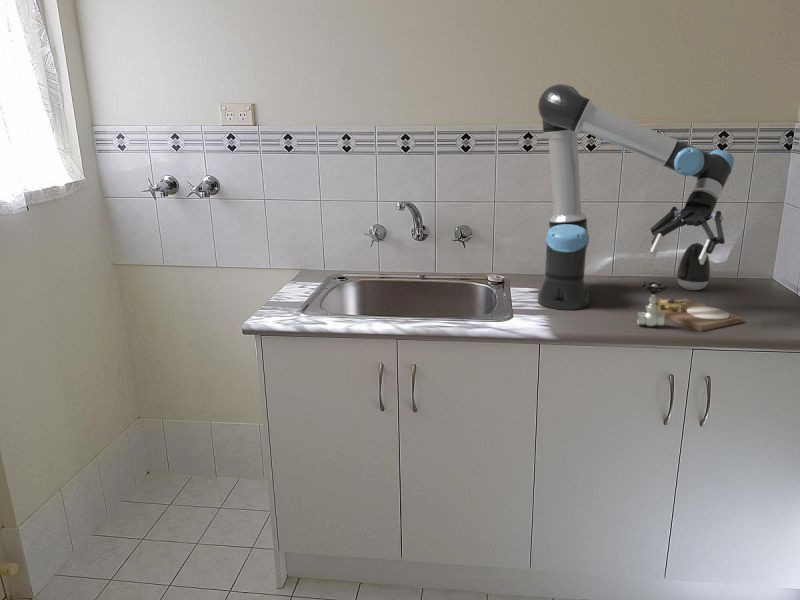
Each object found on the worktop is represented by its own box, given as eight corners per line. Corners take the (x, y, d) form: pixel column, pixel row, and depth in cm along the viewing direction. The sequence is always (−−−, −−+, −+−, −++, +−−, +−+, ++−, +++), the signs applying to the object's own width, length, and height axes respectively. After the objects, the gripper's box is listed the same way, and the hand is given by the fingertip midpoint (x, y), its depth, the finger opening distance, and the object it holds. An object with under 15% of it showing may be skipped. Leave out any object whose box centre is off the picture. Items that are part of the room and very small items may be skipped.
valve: (664, 330, 173) (669, 288, 170) (639, 329, 174) (643, 287, 171) (660, 322, 179) (665, 281, 176) (635, 321, 181) (639, 280, 177)
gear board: (645, 310, 190) (646, 296, 189) (684, 303, 196) (686, 290, 195) (700, 331, 172) (702, 316, 171) (741, 322, 179) (744, 308, 177)
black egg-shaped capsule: (708, 285, 214) (714, 241, 209) (708, 294, 205) (714, 247, 200) (675, 282, 218) (681, 238, 214) (674, 290, 209) (679, 245, 205)
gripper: (752, 210, 178) (725, 272, 172) (664, 202, 195) (637, 258, 190) (748, 193, 173) (719, 256, 167) (658, 186, 190) (629, 244, 185)
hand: (675, 258), depth 179 cm, fingers open, 13 cm apart
